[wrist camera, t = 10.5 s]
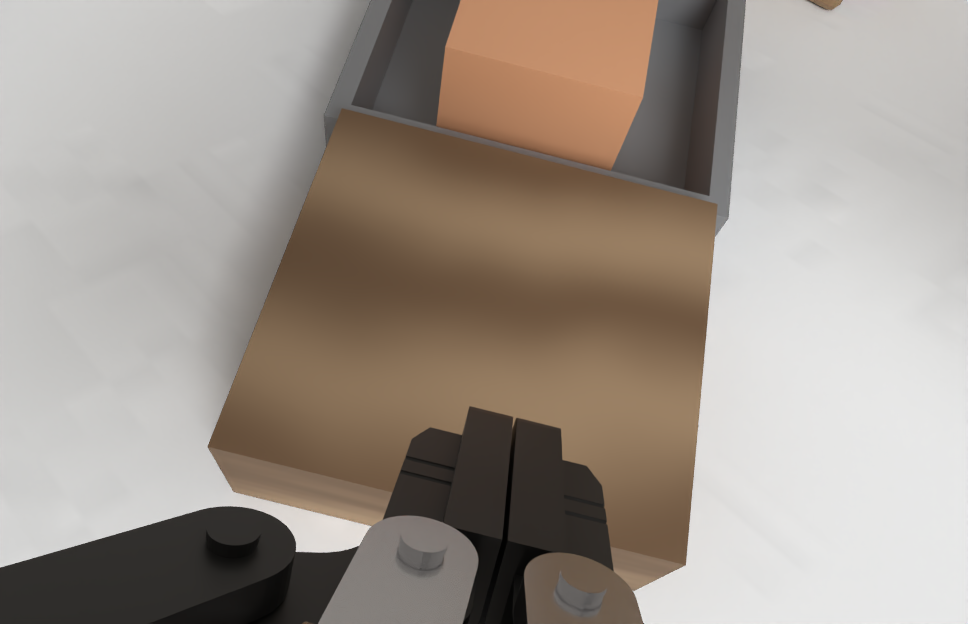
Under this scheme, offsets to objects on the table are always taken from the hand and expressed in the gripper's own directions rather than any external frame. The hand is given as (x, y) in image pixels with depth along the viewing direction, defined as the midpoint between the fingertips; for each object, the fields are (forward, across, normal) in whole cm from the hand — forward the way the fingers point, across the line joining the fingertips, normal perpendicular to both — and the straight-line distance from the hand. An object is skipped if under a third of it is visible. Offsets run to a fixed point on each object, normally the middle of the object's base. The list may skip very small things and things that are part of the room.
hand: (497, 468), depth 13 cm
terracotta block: (+20, +1, -4) cm, 20 cm away
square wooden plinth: (+17, +1, +5) cm, 17 cm away
